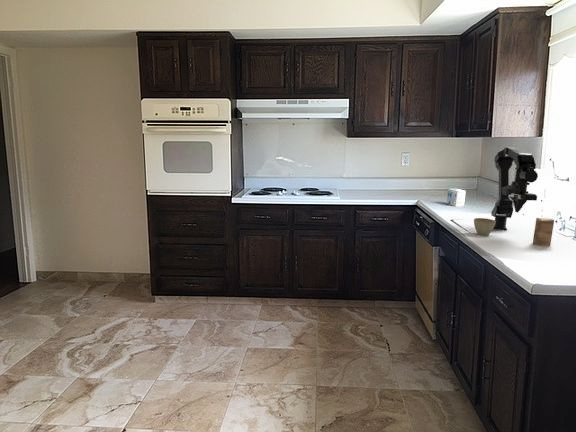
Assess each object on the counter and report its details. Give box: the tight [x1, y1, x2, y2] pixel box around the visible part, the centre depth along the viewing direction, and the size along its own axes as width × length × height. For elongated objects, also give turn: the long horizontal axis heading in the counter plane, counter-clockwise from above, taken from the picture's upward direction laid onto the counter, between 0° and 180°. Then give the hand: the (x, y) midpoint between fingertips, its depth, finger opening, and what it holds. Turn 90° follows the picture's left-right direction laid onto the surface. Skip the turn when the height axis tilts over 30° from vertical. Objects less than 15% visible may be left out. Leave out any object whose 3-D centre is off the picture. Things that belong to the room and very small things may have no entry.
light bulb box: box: [446, 188, 467, 207], centre depth 319 cm, size 11×7×11 cm, turn 17°
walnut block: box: [532, 217, 555, 247], centre depth 216 cm, size 4×6×12 cm, turn 98°
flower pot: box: [473, 217, 496, 236], centre depth 232 cm, size 10×10×7 cm
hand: (516, 212), depth 229 cm, fingers closed
